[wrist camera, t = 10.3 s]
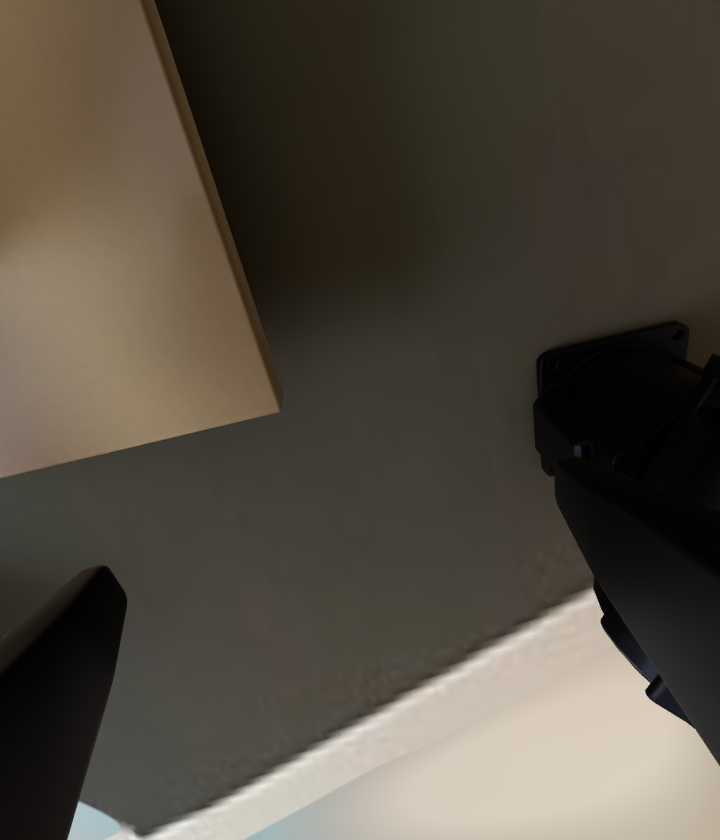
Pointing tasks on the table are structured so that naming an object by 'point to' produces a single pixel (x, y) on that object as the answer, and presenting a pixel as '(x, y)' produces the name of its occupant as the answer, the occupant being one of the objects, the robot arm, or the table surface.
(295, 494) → the table surface
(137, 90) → the board
